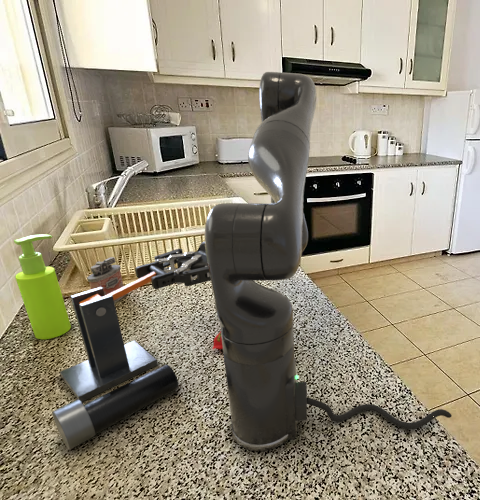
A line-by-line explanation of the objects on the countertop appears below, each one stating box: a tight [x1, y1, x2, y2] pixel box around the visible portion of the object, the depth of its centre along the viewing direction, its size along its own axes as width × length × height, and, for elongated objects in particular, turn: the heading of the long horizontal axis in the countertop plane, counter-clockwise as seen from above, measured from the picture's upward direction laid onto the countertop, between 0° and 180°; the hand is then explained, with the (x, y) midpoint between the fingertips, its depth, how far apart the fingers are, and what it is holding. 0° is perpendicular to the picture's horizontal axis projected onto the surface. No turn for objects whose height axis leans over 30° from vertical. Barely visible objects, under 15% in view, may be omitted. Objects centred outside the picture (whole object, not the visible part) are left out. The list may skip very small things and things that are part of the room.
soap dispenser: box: [13, 233, 72, 340], centre depth 73 cm, size 6×7×20 cm
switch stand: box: [59, 287, 158, 403], centre depth 62 cm, size 12×9×15 cm
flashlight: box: [51, 363, 179, 451], centre depth 55 cm, size 15×6×6 cm, turn 141°
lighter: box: [86, 256, 127, 304], centre depth 86 cm, size 8×3×10 cm, turn 168°
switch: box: [79, 265, 167, 304], centre depth 64 cm, size 13×6×2 cm, turn 141°
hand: (144, 278), depth 66 cm, fingers closed on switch, 5 cm apart
